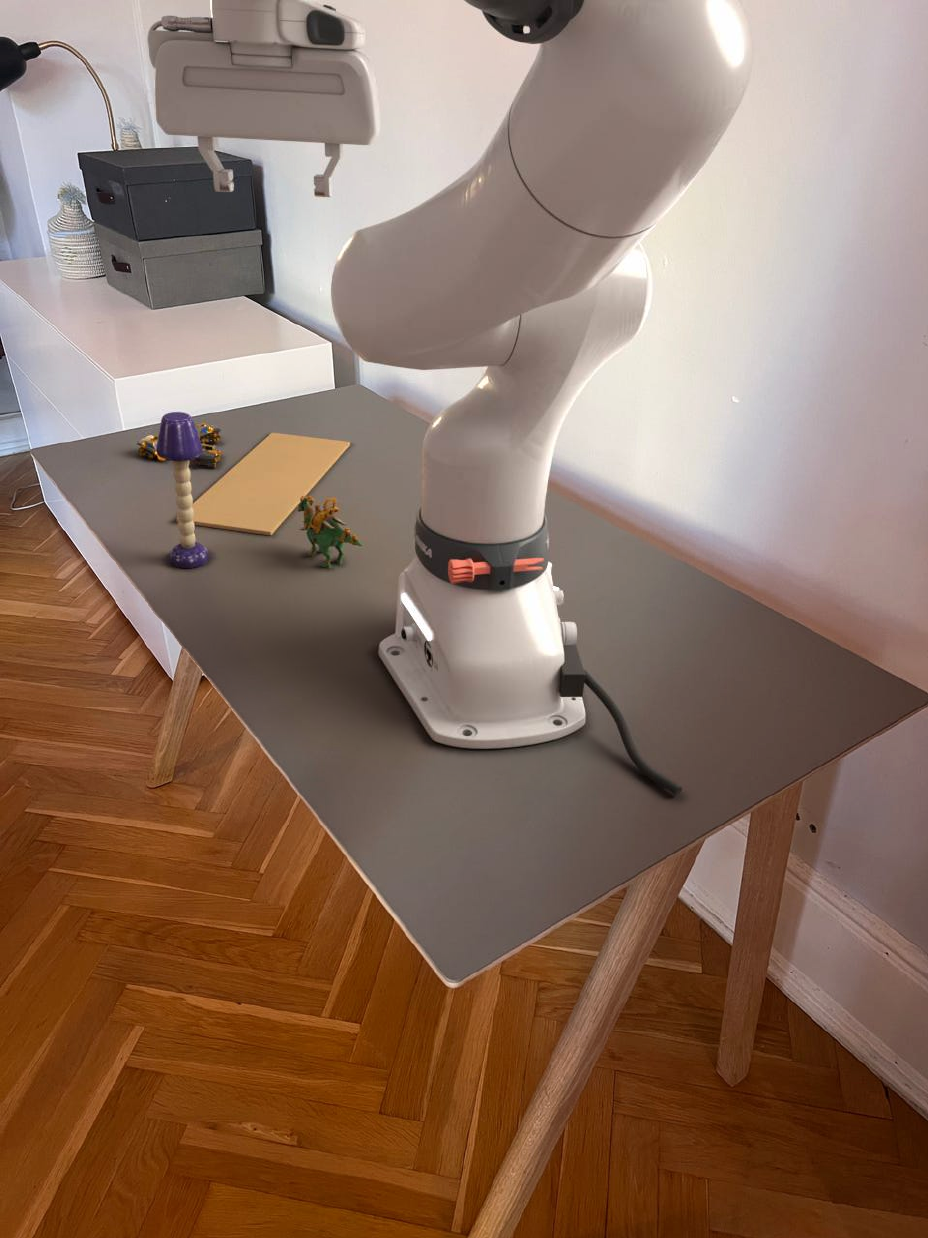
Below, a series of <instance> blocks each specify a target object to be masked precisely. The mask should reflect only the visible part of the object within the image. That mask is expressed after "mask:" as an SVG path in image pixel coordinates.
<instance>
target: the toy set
mask: <svg viewBox="0 0 928 1238" xmlns="http://www.w3.org/2000/svg"><path fill="white" fill-rule="evenodd" d="M195 427H196V430H197V432H198V435H199V438H200V441H201V444H202V447H203V452H202V454H201V455H200V456H199V457H197V458H195V459H192V460H191V461H192V462H191V463H192V465H193V466H198V467H200V466H201V465H203V466H207V467H208V468H209V469H216V468H217V466H218V464H219V462H220V459H221V457H222V451H221V450H219V449H217V448H216V445H215V444H214V445H210V444H209V443H211V444H212V443H221V442H220V441H221V440H222V437H221V436H220V434H219V433H220V432H221V430H222V429H221V428H220V426H218V425H215V424H212V425H208V424H206V422H202V423H199V424H197V425H196V424H195ZM157 441H158V435H157V434H154V435H151V434H150V435H147V436H144V437H143V438H142V439H140V440H138V441H137V442H136V445H137V446H139V448H138V455H140V457H143V458H148V459H151V460H153V459H154V458H157V459H158V461H160V462H163V461H167V460H166V459H163V458H161V457H159V456H158V454H157V452H156V447H157ZM206 443H207V444H206Z"/></svg>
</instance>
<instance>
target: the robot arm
mask: <svg viewBox="0 0 928 1238" xmlns="http://www.w3.org/2000/svg"><path fill="white" fill-rule="evenodd" d="M209 1H210V2H209V3H210V15H211V17H208V16H207V17H205V16H190V17H182V16H177V15H164V16H161V19H160V20H158V21H156V22H154V23H153V24H152V25H151V26H150V28H149V30H148V32H147V48H148V56H149V60H150V64H151V66H152V67H153V69H154V80H153V81H154V82H153V83H154V84H153V85H154V86H153V87H154V89H153V91H154V94H153V95H154V114H155V121H156V123H157V125H158V126H159V128H160V129H161V130H162V132H163V133H164V134H166V135H167V136H181V137H183V136H184V137H196V138H197V147H198V148H197V149H198V152H199V154H200V155H201V156H202V158H203V160H204V161H205V164H207V167H208V168H209V169H210V171H211V172H212V177H213V178H212V179H213V187H214V191H215V192H218V193H219V192H220V193H222V192H223V193H232V192H234V190H235V183H234V181H233V179H234V170H233V169H225V168H224V166H223V164H222V163H221V160H220V159H219V157H218V155H217V153H216V152H215V151H216V150H217V149H219V148H220V145H219V144H220V143H219V142H220V141H219V138H223V139H239V140H240V139H241V140H260V141H275V142H277V141H278V142H298V143H316V144H324V156H325V157H327V158H330V159H329V162H328V164H327V166H326V168H325V170H324V172H323V174H321V173H319V174H317V173H316V174H315V175H314V176H313V185H314V189H313V192H314V193H313V195H314V197H318V198H319V197H320V198H332V196H333V176H334V174H335V172H336V170H337V169H338V166H339V165H340V162H341V160H342V158H343V156H344V145H354V146H371V145H372V144H373V143H375V142H376V140H377V139H378V138H379V137H380V134H381V109H380V99H379V91H378V84H377V78H376V73H375V69H374V66H373V64H372V63H371V60H370V59H369V58H368V56H367V55H366V54H365V53H363V52H361V51H360V49H362V48H364V47H365V44H366V39H367V38H366V35H367V33H366V28H365V25H364V23H363V22H361V21H360V20H358V19H356V18H354V17H352V16H349V15H346V14H344V13H343V12H339V11H337V8H336V7H333V6H332V5H328V4H321V3H319V2H316V0H209ZM463 1H464V2H466V3H467V4H468V5H470V6H472V7H473V8H475V9H478V10H479V11H481V12H482V15H483V16H484V19H485V21H487V22H488V24H489V25H490V26H491V27H492V28H493V29H494V30H495V31H496V32H498V33H499V34H500V35H502V36H504V37H505V38H507V39H509V40H510V41H514V42H518V43H522V44H523V43H524V44H528V45H539V48H538V50H537V53H536V56H535V58H534V60H533V63H532V65H530V68H529V70H528V72H527V74H526V76H525V77H524V79H523V81H522V83H521V85H520V86H519V88H518V90H517V92H516V94H515V96H514V98H513V100H512V101H511V104H510V106H509V107H508V109H507V111H506V114H505V115H504V117H503V119H502V121H501V123H500V124H499V126H498V128H497V129H496V132H495V133H494V135H493V136H492V139H491V140H490V142H489V144H488V145H487V146H486V149H485V150H484V152H483V154H482V155H481V157H480V158H479V159H478V160H477V162H476V163H475V164H474V165H472V167H470V168H469V169H468V170H467V171H465V173H463V174H462V175H461V176H460V177H458V178H457V179H455V180H454V181H453V182H451V183H449V184H448V185H447V186H446V187H444V188H443V189H441V190H440V191H439V192H437V193H436V194H433V196H431V197H430V198H428V199H427V200H424V201H423V202H422V203H420V204H418V205H416V206H415V207H414V208H411V209H410V210H408V211H406V212H404V213H402V214H401V213H400V214H399V215H397V216H394V217H393V218H389V219H388V220H385V221H381V222H379V223H376V224H373V225H370V226H367V227H364V228H360V229H358V230H355V232H354V233H353V234H352V235H351V236H349V238H348V239H347V241H346V242H345V244H344V245H343V247H342V249H341V251H340V253H339V254H338V256H337V259H336V262H335V265H334V267H333V270H332V271H333V272H332V276H331V284H330V297H331V298H330V299H331V308H332V312H333V316H334V320H335V322H336V325H337V327H338V329H339V332H340V334H341V336H342V337H343V339H344V341H345V342H346V343H347V345H348V347H350V349H351V350H352V351H353V352H354V353H355V354H356V355H357V356H358V357H359V358H360V359H361V360H363V361H364V362H366V363H372V364H377V365H383V366H390V367H396V368H401V369H402V368H403V369H410V370H418V371H419V370H420V371H432V370H433V371H434V370H450V369H466V368H483V367H486V369H485V372H484V373H483V375H482V377H481V378H480V379H479V381H478V382H477V383H476V385H475V386H474V387H473V388H472V389H471V390H470V391H469V392H467V393H466V394H465V395H464V396H462V397H461V398H460V399H457V400H456V401H454V402H453V403H451V404H450V405H448V406H446V407H445V408H443V409H442V410H441V411H440V412H438V414H437V415H436V416H435V417H434V418H433V420H432V421H431V423H430V424H429V426H428V428H427V429H426V432H425V434H424V437H423V440H422V444H421V445H422V449H421V487H420V489H421V490H420V507H419V508H418V510H417V512H416V516H415V517H416V518H415V523H414V528H413V529H414V531H413V534H414V535H413V537H414V551H415V556H414V557H413V559H412V561H411V562H410V563H409V564H408V565H407V567H405V569H403V571H401V573H400V574H399V575H398V584H397V600H396V617H395V619H396V620H395V632H394V633H393V634H391V635H388V636H387V637H385V638H384V639H382V640H381V641H380V643H379V645H378V652H377V653H378V657H379V658H380V660H381V662H382V663H383V665H384V666H385V668H386V670H387V671H388V673H389V674H390V676H391V677H392V679H393V680H394V682H395V684H396V685H397V687H398V688H399V690H400V691H401V693H402V695H403V696H404V697H405V699H406V701H407V703H408V704H409V705H410V707H411V709H412V711H413V712H414V713H415V715H416V717H417V718H418V720H419V722H420V723H421V725H422V726H423V728H424V730H425V731H426V733H427V734H428V735H429V737H430V738H431V740H433V742H436V743H439V744H443V745H446V746H451V747H455V748H462V749H475V750H477V749H478V750H479V749H481V750H483V749H484V750H488V749H489V750H490V749H505V748H517V747H523V746H524V747H525V746H531V745H536V744H542V743H546V742H550V741H554V740H558V739H561V738H564V737H567V736H568V735H570V734H572V733H575V732H576V731H578V730H579V729H581V728H582V727H584V725H585V724H586V709H585V706H584V700H583V697H584V696H583V695H584V688H585V685H586V686H587V687H588V689H590V690H591V692H593V694H594V695H595V696H596V697H597V698H598V700H600V702H601V703H602V704H603V706H604V707H605V708H606V710H607V711H608V713H609V714H610V715H611V717H612V719H613V721H614V723H615V725H616V727H617V728H616V729H618V732H619V736H620V738H621V741H622V743H623V746H624V748H625V749H624V750H626V753H627V755H628V757H629V758H630V760H631V761H632V763H633V764H634V765H635V767H636V768H637V769H638V770H639V771H640V772H641V773H642V774H643V775H644V776H646V778H649V779H650V780H651V781H652V782H654V783H656V784H658V786H659V785H660V786H661V787H663V788H664V789H666V790H667V791H669V792H670V793H672V794H674V795H675V796H678V795H680V794H681V793H682V790H683V787H682V786H681V785H679V784H678V783H676V782H675V781H673V780H672V779H670V778H668V777H667V776H664V775H662V774H661V773H660V772H658V771H656V770H655V769H654V768H652V767H651V766H650V765H649V764H648V762H646V760H645V759H644V758H643V757H642V755H641V754H640V753H639V751H638V749H637V747H636V745H635V743H634V741H633V737H632V735H631V732H630V729H629V726H628V724H627V721H626V720H625V718H624V715H623V714H622V712H621V710H620V709H619V707H618V705H616V703H615V701H614V700H613V699H612V698H611V696H610V695H609V694H608V693H607V691H605V689H604V688H603V687H602V686H601V685H600V684H599V683H598V682H597V681H596V680H595V678H593V677H592V676H591V674H590V673H589V672H588V671H587V670H586V669H585V668H584V665H583V662H582V659H581V655H580V651H579V649H578V645H577V641H578V630H577V624H576V622H573V621H561V618H560V617H559V612H558V606H562V605H563V604H564V591H563V590H562V589H560V588H559V587H557V586H554V582H553V576H552V569H553V568H552V567H553V564H552V562H550V561H549V547H550V534H549V531H548V518H547V517H546V514H545V509H546V499H547V493H548V483H549V479H550V471H551V467H552V462H553V461H552V460H553V455H554V450H555V447H556V443H557V439H558V436H559V433H560V431H561V427H562V426H563V424H564V421H565V419H566V417H567V415H568V413H569V411H570V410H571V408H572V407H573V404H574V403H575V401H576V399H577V398H578V396H579V395H580V393H581V392H582V391H583V389H584V388H585V386H586V385H587V384H588V383H589V381H590V380H591V378H592V377H593V376H594V375H595V374H596V373H597V372H598V371H599V370H600V369H601V368H602V367H603V366H604V365H605V364H606V362H608V361H609V360H611V359H612V358H613V357H614V356H615V355H617V354H618V353H619V352H621V351H622V350H623V349H624V348H626V347H628V346H629V345H630V344H631V343H632V341H633V340H634V339H635V338H636V336H637V335H638V334H639V333H640V331H641V329H642V327H643V325H644V323H645V321H646V319H647V316H648V313H649V311H650V307H651V302H652V298H653V297H652V296H653V276H652V269H651V265H650V262H649V258H648V256H647V254H646V252H645V250H644V247H643V246H642V243H640V242H641V241H643V240H644V238H646V236H647V235H648V234H649V233H650V232H651V231H652V230H653V229H654V228H655V226H656V225H657V224H658V223H660V222H661V220H662V219H663V218H664V217H665V215H666V214H668V212H669V211H670V210H671V209H672V207H673V206H674V205H675V204H676V203H677V202H678V201H679V199H680V198H681V197H682V196H683V195H684V194H685V192H686V191H687V189H689V187H690V186H691V184H692V183H693V182H694V180H695V179H696V178H697V176H698V175H699V173H700V172H701V170H702V169H703V167H704V166H705V165H706V163H707V161H708V160H709V159H710V157H711V156H712V154H713V153H714V152H715V150H716V148H717V146H718V145H719V143H720V141H721V139H722V138H723V136H724V135H725V133H726V131H727V129H728V128H729V126H730V124H731V122H732V120H733V118H734V117H735V115H736V113H737V111H738V109H739V107H740V105H741V103H742V102H743V99H744V97H745V94H746V91H747V88H748V86H749V82H750V79H751V73H752V67H753V55H754V51H753V38H752V31H751V27H750V23H749V20H748V17H747V13H746V11H745V9H744V6H743V5H742V2H741V0H463ZM161 27H162V29H163V30H159V28H161ZM525 27H527V28H529V31H528V32H526V33H525V32H524V28H525ZM157 29H158V30H157Z"/></svg>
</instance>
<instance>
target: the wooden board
mask: <svg viewBox="0 0 928 1238" xmlns="http://www.w3.org/2000/svg"><path fill="white" fill-rule="evenodd" d="M350 446H351V442H350V441H346V440H345V441H344V440H337V439H328V438H319V437H313V436H312V437H311V436H305V435H296V434H286V433H280V432H271V433H269V434H268V436H266V437H265V438H264V439H263V440H262V441H261V442H260V443H259V444H258V445H256V446H255V447H254V448H253V449H252V450H250V451H249V452H248V453H247V455H245V456H244V457H242V459H240V461H238V462H237V463H236V464H235V465H234V466H233V467H232V468H231V469H230V470H228V471H227V472H226V473H225V474H224V475H223V476H222V477H221V478H220V479H218V481H216V482H215V483H214V484H213V485H212V486H211V487H210V488H208V489H207V490H206V491H205V492H204V493H203V494H202V495H201V496H200V497H199V498H198V499H196V500H195V501H193V505H192V508H193V511H194V517H193V521H194V525H195V526H201V527H207V528H208V527H209V528H214V529H215V528H216V529H222V530H228V531H235V532H242V533H243V532H244V533H250V534H257V535H265V536H272V535H273V534H274V533H275V532H276V530H277V529H278V528H279V527H280V526H281V525H283V524H282V523H283V522H285V520H286V519H287V518H288V517H289V516H290V515H291V513H292V512H293V511H294V510H295V509H296V508H297V507H298V506H299V505H298V504H299V503H300V502H301V501H300V498H301V497H302V496H303V495H305V496H306V497H307V495H308V494H309V493H310V492H311V490H312V489H313V488H314V487H315V486H316V485H317V484H318V482H319V481H320V480H322V478H323V477H324V476H325V475H326V473H327V472H328V471H329V470H330V469H331V468H332V466H333V465H334V464H335V463H336V462H337V461H338V459H339V458H340V457H341V456H342V455H343V454H344V453H345V452H346V450H347V449H348V448H349V447H350ZM303 499H304V498H303ZM303 499H302V500H303ZM175 520H176V521H175V522H176V523H178V522H179V519H178V517H176V519H175Z"/></svg>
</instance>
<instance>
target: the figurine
mask: <svg viewBox="0 0 928 1238" xmlns="http://www.w3.org/2000/svg"><path fill="white" fill-rule="evenodd" d="M302 499H303V500H302ZM300 501H301V502H300V503H299V504H298V505H297V506H298V508H297V512H298V513H299V512H303V520H302V523H303V527H300V526H298V529H299V530H300V531H305V532H306V537H307V539H308V541H309V543H310V544H311V548H310V549H311V550H310V552H309V553H307V554H306V555H307V556H310V557H314V555H315V554H316V552H317V547H316V545H317V546H318V552H319V553H321V554H322V555H323V557H325V558H326V562H323V563H321V564H320V566H321V567H324V568H326V567H328V568H330V569H331V568H332V565H331V563H330V562H331V559H332V556H331V553H330V547H333V548H334V547H335V549H336V550H337V551H338V556H337V557H336V558H333V559H332V561H333V562H336V563H339V564H340V565H342V564H343V561H342V559H343V557H344V554H345V553H344V550H343V547H344V544H347V543H348V544H350V545H352V546H358V547H362V546H363V544H362V542H360V541H359V539H358V536H357V535H356V534H352V536H351V529H349V528H348V527H345V528H344V530H343V529H342V527H340V525H342V526H347V523H345V522H343V521H342V520H341V519H339V518H338V517H337V516H335V515H334V514H339V511H340V508H339V507H337V504H338V503H337V499H336V498H335V497H329V498H327V499H326V500H325V501H324V503H323V506H322V507H323V510H321V507H320V504H315V505H314V510H313V508H312V507H313V504H314V503H315V499H314V498H313V497H312V496H311V495H308V496H307V495H306V496H305V495H303V496H302V497H301V498H300ZM330 503H332V506H328V505H329V504H330Z"/></svg>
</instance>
